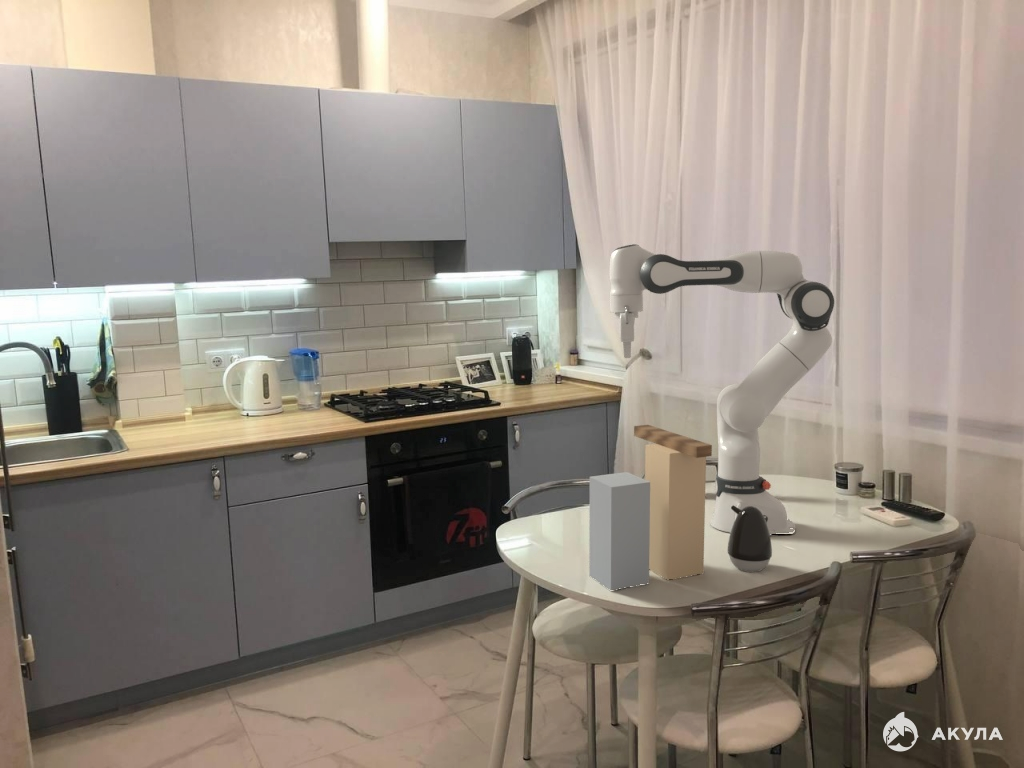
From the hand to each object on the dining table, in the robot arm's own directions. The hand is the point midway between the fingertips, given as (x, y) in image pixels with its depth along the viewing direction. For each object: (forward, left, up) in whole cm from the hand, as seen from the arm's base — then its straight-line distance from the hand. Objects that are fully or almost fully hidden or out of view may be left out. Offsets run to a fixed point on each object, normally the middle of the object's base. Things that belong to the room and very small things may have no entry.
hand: (627, 356), depth 223 cm
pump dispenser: (-29, +32, -48) cm, 64 cm away
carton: (-11, +35, -48) cm, 60 cm away
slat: (-10, +33, -18) cm, 38 cm away
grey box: (+2, +42, -48) cm, 64 cm away
